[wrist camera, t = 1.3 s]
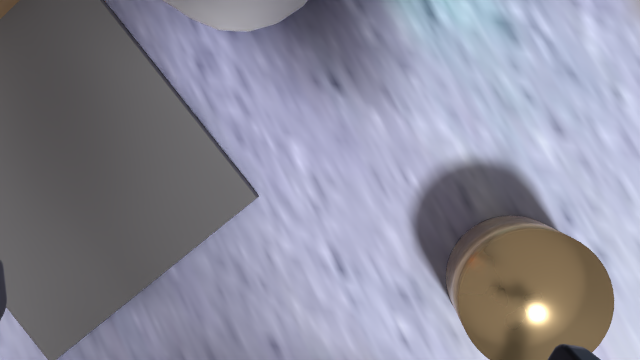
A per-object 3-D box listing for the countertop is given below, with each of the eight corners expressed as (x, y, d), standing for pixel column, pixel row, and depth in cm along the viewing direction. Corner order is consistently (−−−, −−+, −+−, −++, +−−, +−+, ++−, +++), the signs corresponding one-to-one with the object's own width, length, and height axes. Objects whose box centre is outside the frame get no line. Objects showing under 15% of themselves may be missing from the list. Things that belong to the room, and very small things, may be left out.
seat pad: (258, 196, 20) (256, 197, 19) (56, 358, 21) (50, 363, 21) (49, -69, 20) (42, -73, 19) (-137, 115, 21) (-147, 114, 21)
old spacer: (600, 294, 19) (644, 325, 16) (490, 360, 19) (512, 400, 16) (528, 190, 18) (559, 200, 16) (421, 259, 19) (430, 281, 16)
